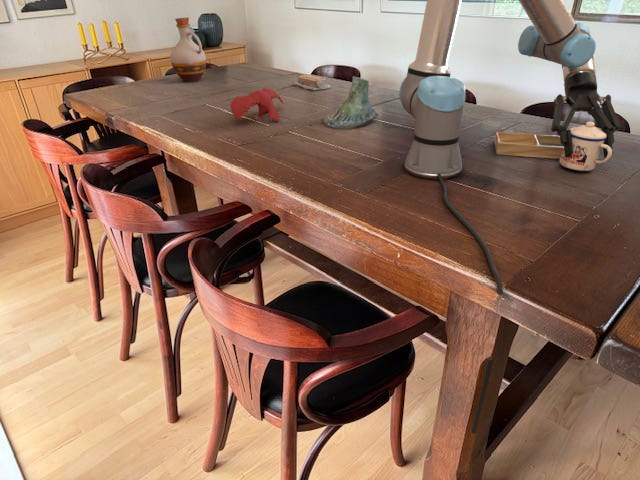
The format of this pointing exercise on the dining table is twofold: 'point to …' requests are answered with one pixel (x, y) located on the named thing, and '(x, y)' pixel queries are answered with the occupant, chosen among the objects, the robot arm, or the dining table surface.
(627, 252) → the dining table surface
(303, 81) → the packaged product
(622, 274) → the dining table surface
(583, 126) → the teacup with lid
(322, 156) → the dining table surface
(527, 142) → the organizer
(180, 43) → the jug
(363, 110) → the tree stump
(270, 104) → the red animal figurine
